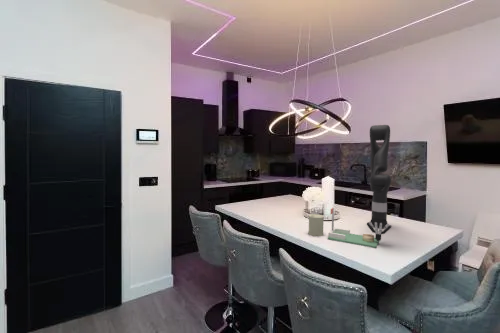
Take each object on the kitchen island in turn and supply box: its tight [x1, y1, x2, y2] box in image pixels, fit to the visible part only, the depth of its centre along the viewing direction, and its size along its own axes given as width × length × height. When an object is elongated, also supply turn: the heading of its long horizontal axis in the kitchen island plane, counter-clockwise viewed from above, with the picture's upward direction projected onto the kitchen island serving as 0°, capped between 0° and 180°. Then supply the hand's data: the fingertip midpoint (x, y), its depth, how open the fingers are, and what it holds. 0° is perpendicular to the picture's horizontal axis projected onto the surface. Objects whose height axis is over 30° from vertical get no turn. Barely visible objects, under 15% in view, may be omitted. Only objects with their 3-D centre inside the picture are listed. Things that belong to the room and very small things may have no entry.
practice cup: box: [327, 207, 351, 240], centre depth 160 cm, size 13×10×16 cm
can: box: [307, 213, 325, 237], centre depth 166 cm, size 9×9×12 cm
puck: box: [362, 233, 375, 242], centre depth 152 cm, size 6×6×3 cm
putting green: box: [327, 233, 380, 249], centre depth 157 cm, size 16×26×1 cm, turn 58°
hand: (378, 240), depth 150 cm, fingers closed
